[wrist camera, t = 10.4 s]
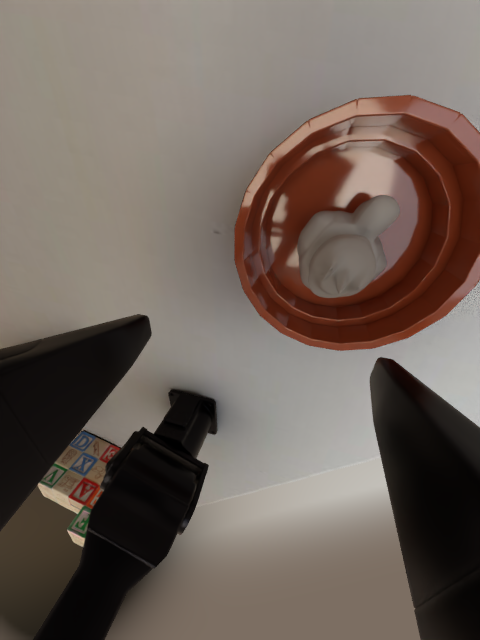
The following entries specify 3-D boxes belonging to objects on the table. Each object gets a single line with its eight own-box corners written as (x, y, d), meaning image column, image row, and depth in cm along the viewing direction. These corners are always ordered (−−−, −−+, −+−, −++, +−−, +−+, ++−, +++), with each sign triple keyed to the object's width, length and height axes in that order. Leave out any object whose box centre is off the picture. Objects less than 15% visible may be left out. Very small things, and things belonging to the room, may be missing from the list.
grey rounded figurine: (280, 255, 18) (259, 295, 11) (345, 169, 14) (369, 154, 8) (335, 296, 18) (346, 359, 12) (412, 222, 15) (490, 251, 8)
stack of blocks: (86, 445, 48) (23, 516, 38) (83, 429, 45) (13, 501, 34) (180, 491, 46) (140, 579, 36) (184, 477, 43) (141, 570, 32)
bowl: (406, 326, 19) (431, 367, 14) (250, 304, 22) (233, 332, 17) (497, 118, 12) (589, 83, 8) (257, 127, 15) (234, 105, 11)
